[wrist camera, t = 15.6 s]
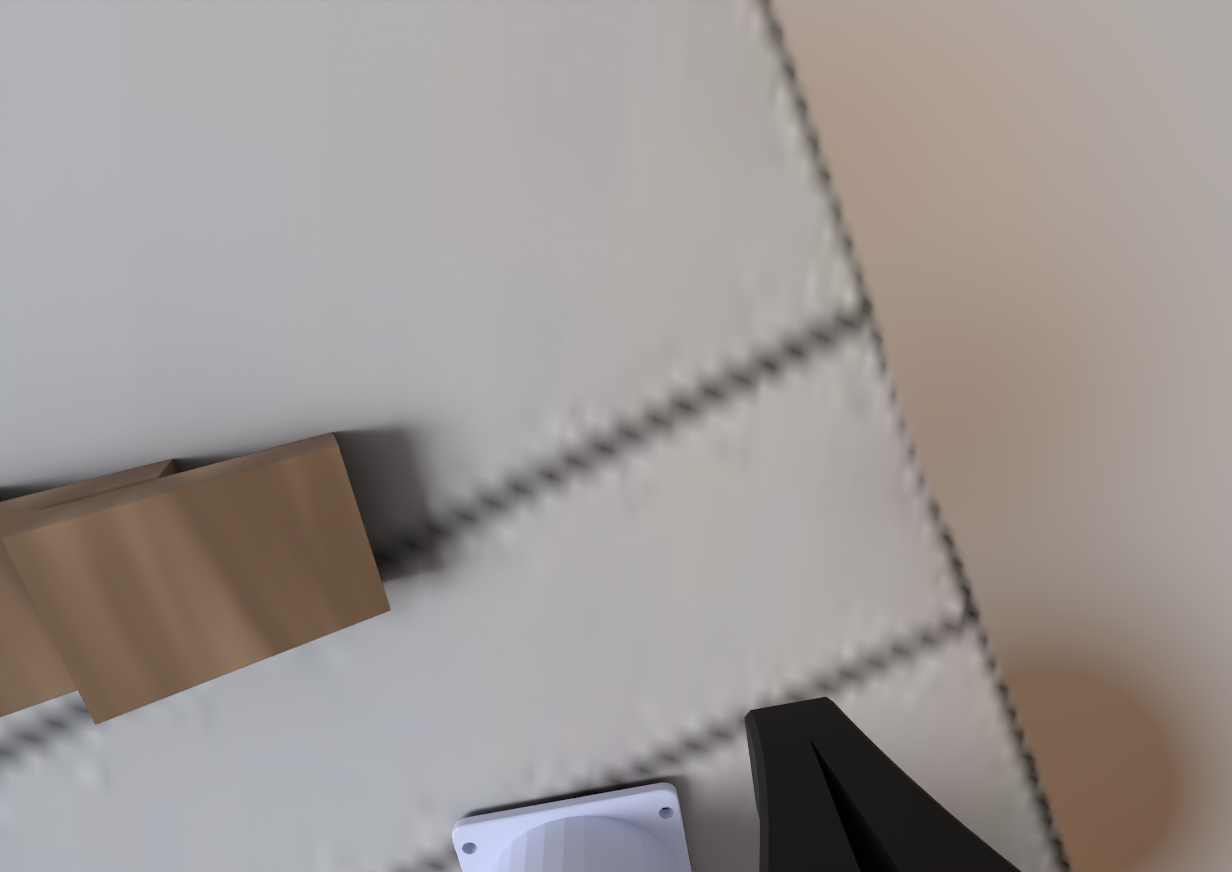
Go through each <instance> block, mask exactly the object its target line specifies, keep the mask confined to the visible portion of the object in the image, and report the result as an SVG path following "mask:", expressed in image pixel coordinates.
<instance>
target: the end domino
mask: <svg viewBox="0 0 1232 872" xmlns="http://www.w3.org/2000/svg"><path fill="white" fill-rule="evenodd" d="M2 541H3V543H4V545H5V547H6V549H7V551H8V553H9V555H10V557H11V559H12V561H13V563H14V565H15V567H16V569H17V571H18V573H19V575H20V577H21V579H22V581H23V582H24V584H25V586H26V588H27V590H28V592H29V594H30V596H31V598H32V600H33V602H34V604H35V606H36V608H37V610H38V612H39V614H40V616H41V618H42V620H43V622H44V624H45V626H46V628H47V630H48V632H49V634H50V636H51V638H52V640H53V642H54V644H55V646H56V648H57V650H58V652H59V654H60V656H61V658H62V659H63V661H64V663H65V665H66V667H67V669H68V671H69V673H70V675H71V677H72V679H73V681H74V683H75V685H76V687H77V689H78V691H79V693H80V695H81V697H82V699H83V701H84V703H85V705H86V707H87V709H88V711H89V713H90V715H91V717H92V719H93V721H94V723H95V725H96V724H99V723H101V722H104V721H107V720H109V719H112V718H114V717H117V716H119V715H122V714H125V713H127V712H130V711H132V710H135V709H137V708H140V707H143V706H145V705H148V704H150V703H153V702H155V701H158V700H161V699H163V698H166V697H168V696H171V695H174V694H176V693H179V692H181V691H184V690H186V689H189V688H192V687H194V686H197V685H199V684H202V683H204V682H207V681H210V680H212V679H215V678H217V677H220V676H222V675H225V674H228V673H230V672H233V671H235V670H238V669H241V668H243V667H246V666H248V665H251V664H253V663H256V662H259V661H261V660H264V659H266V658H269V657H271V656H274V655H277V654H279V653H282V652H284V651H287V650H289V649H292V648H295V647H297V646H300V645H302V644H305V643H308V642H310V641H313V640H315V639H318V638H320V637H323V636H326V635H328V634H331V633H333V632H336V631H338V630H341V629H344V628H346V627H349V626H351V625H354V624H356V623H359V622H362V621H364V620H367V619H369V618H372V617H374V616H377V615H380V614H382V613H385V612H387V611H390V606H389V603H388V600H387V597H386V594H385V591H384V588H383V584H382V581H381V578H380V575H379V572H378V569H377V565H376V562H375V559H374V556H373V553H372V550H371V547H370V543H369V540H368V537H367V534H366V531H365V528H364V525H363V521H362V518H361V515H360V512H359V509H358V506H357V503H356V499H355V496H354V493H353V490H352V487H351V484H350V481H349V477H348V474H347V471H346V468H345V465H344V462H343V459H342V455H341V452H340V449H339V446H338V444H337V441H336V439H335V436H334V434H333V432H331V433H327V434H324V435H320V436H316V437H312V438H309V439H305V440H301V441H297V442H294V443H290V444H286V445H282V446H279V447H275V448H271V449H267V450H263V451H260V452H256V453H252V454H248V455H245V456H241V457H237V458H233V459H230V460H226V461H222V462H218V463H215V464H211V465H207V466H203V467H200V468H196V469H192V470H188V471H185V472H181V473H177V474H173V475H170V476H166V477H162V478H159V479H155V480H151V481H147V482H143V483H140V484H136V485H132V486H128V487H125V488H121V489H117V490H113V491H110V492H106V493H102V494H98V495H95V496H91V497H87V498H83V499H80V500H76V501H72V502H68V503H65V504H61V505H57V506H53V507H50V508H46V509H42V510H38V511H35V512H32V513H31V514H29V515H28V516H27V517H26V518H25V519H24V520H23V521H21V522H20V523H19V524H18V525H17V526H16V527H14V528H13V529H12V530H11V531H10V532H9V533H8V534H6V535H5V536H4V537H3V538H2Z"/></svg>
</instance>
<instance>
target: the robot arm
mask: <svg viewBox="0 0 1232 872" xmlns="http://www.w3.org/2000/svg"><path fill="white" fill-rule="evenodd" d="M744 718H745V726H746V733H747V740H748V748H749V755H750V762H751V770H752V777H753V784H754V792H755V799H756V806H757V810H758V814H759V818H760V869H759V872H1021V871H1020V870H1019V869H1017V868H1016V867H1015V866H1014V865H1012V864H1011V863H1010V862H1009V861H1007V860H1006V859H1005V858H1003V857H1002V856H1001V855H1000V854H998V853H997V852H996V851H995V850H994V849H992V848H991V847H990V846H989V845H987V844H986V843H985V842H984V841H983V840H981V839H980V838H979V837H978V836H976V835H975V834H974V833H973V832H972V831H970V830H969V829H968V828H967V827H966V826H964V825H963V824H962V823H961V822H960V821H959V820H957V819H956V818H955V817H954V816H953V815H951V814H950V813H949V812H948V811H947V810H946V809H944V808H943V807H942V806H941V805H940V804H939V803H938V802H937V801H936V800H934V799H933V798H932V797H931V796H930V795H929V794H928V793H927V792H925V791H924V790H923V789H922V788H921V787H920V786H919V785H918V784H917V783H915V782H914V781H913V780H912V779H911V778H910V777H909V776H908V775H907V774H905V773H904V772H903V771H902V770H901V769H900V768H899V767H898V766H897V765H896V764H895V763H894V762H893V761H892V760H891V759H890V758H889V757H887V756H886V755H885V754H884V753H883V752H882V751H881V750H880V749H879V748H878V747H877V746H876V745H875V744H874V743H873V742H872V741H871V740H870V739H869V738H868V737H867V736H866V735H865V734H864V733H863V732H862V731H861V730H860V729H859V728H858V727H857V726H856V725H855V724H854V723H853V722H852V721H851V720H850V719H849V718H848V717H847V716H846V715H845V714H844V713H843V712H842V710H841V709H840V708H839V707H838V706H837V705H836V704H835V703H834V702H833V701H831V700H830V699H829V698H827V697H822V698H816V699H811V700H805V701H800V702H794V703H788V704H783V705H777V706H772V707H766V708H760V709H755V710H750V712H749V713H748V714H747V715H746V716H745V717H744ZM664 807H670V808H668V809H662V808H664ZM452 840H453V843H454V846H455V849H456V852H457V855H458V858H459V861H460V864H461V867H462V871H463V872H692V871H691V866H690V860H689V855H688V849H687V844H686V838H685V833H684V827H683V822H682V816H681V811H680V805H679V800H678V794H677V790H676V788H675V787H674V786H673V785H672V784H669V783H656V784H651V785H645V786H639V787H634V788H628V789H623V790H617V791H612V792H606V793H600V794H595V795H589V796H584V797H578V798H573V799H567V800H561V801H556V802H550V803H545V804H539V805H533V806H528V807H522V808H517V809H511V810H506V811H500V812H494V813H489V814H483V815H478V816H472V817H467V818H463V819H460V820H458V821H457V822H456V823H455V825H454V828H453V832H452ZM469 843H473V844H469Z"/></svg>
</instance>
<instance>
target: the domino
mask: <svg viewBox="0 0 1232 872" xmlns="http://www.w3.org/2000/svg"><path fill="white" fill-rule="evenodd" d="M177 473H178V472H177V469H176V467H175V464H174V462H173V459H170V460H166V461H162V462H158V463H154V464H150V465H146V466H142V467H138V468H134V469H130V470H126V471H122V472H118V473H114V474H110V475H106V476H102V477H98V478H94V479H90V480H86V481H82V482H78V483H74V484H70V485H66V486H62V487H58V488H54V489H50V490H46V491H42V492H38V493H34V494H30V495H26V496H22V497H18V498H14V499H10V500H6V501H2V502H0V717H2V716H5V715H8V714H11V713H14V712H17V711H19V710H22V709H25V708H28V707H31V706H34V705H37V704H39V703H42V702H45V701H48V700H51V699H54V698H57V697H59V696H62V695H65V694H68V693H71V692H74V691H77V690H78V689H77V687H76V685H75V683H74V681H73V679H72V677H71V675H70V673H69V671H68V669H67V667H66V665H65V663H64V661H63V659H62V658H61V656H60V654H59V652H58V650H57V648H56V646H55V644H54V642H53V640H52V638H51V636H50V634H49V632H48V630H47V628H46V626H45V624H44V622H43V620H42V618H41V616H40V614H39V612H38V610H37V608H36V606H35V604H34V602H33V600H32V598H31V596H30V594H29V592H28V590H27V588H26V586H25V584H24V582H23V581H22V579H21V577H20V575H19V573H18V571H17V569H16V567H15V565H14V563H13V561H12V559H11V557H10V555H9V553H8V551H7V549H6V547H5V545H4V543H3V541H2V538H3V537H4V536H5V535H6V534H8V533H9V532H10V531H11V530H12V529H13V528H14V527H16V526H17V525H18V524H19V523H20V522H21V521H23V520H24V519H25V518H26V517H27V516H28V515H29V514H31V513H32V512H35V511H38V510H42V509H46V508H50V507H53V506H57V505H61V504H65V503H68V502H72V501H76V500H80V499H83V498H87V497H91V496H95V495H98V494H102V493H106V492H110V491H113V490H117V489H121V488H125V487H128V486H132V485H136V484H140V483H143V482H147V481H151V480H155V479H159V478H162V477H166V476H170V475H173V474H177Z"/></svg>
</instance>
